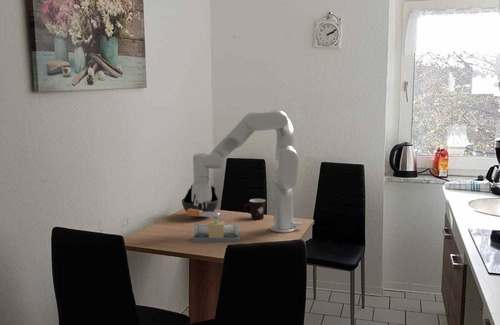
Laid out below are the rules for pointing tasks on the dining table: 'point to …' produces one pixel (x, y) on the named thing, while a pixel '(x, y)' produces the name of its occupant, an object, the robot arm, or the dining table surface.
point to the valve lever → (202, 213)
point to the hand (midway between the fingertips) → (202, 215)
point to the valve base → (226, 239)
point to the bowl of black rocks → (189, 204)
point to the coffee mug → (256, 208)
